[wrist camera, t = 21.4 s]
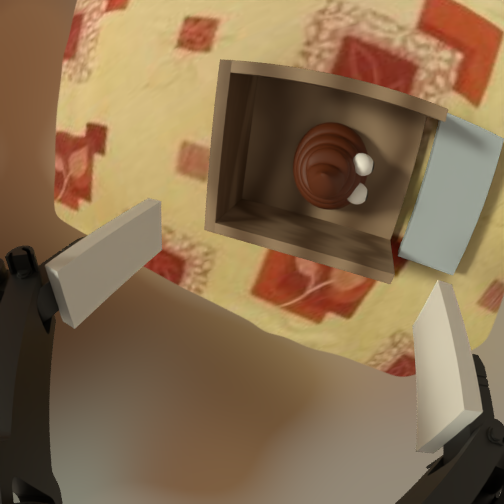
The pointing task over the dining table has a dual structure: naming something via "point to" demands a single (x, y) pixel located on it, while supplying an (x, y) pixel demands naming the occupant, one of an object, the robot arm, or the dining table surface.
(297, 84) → the box
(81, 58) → the dining table surface
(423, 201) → the door
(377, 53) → the dining table surface
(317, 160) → the poop emoji
